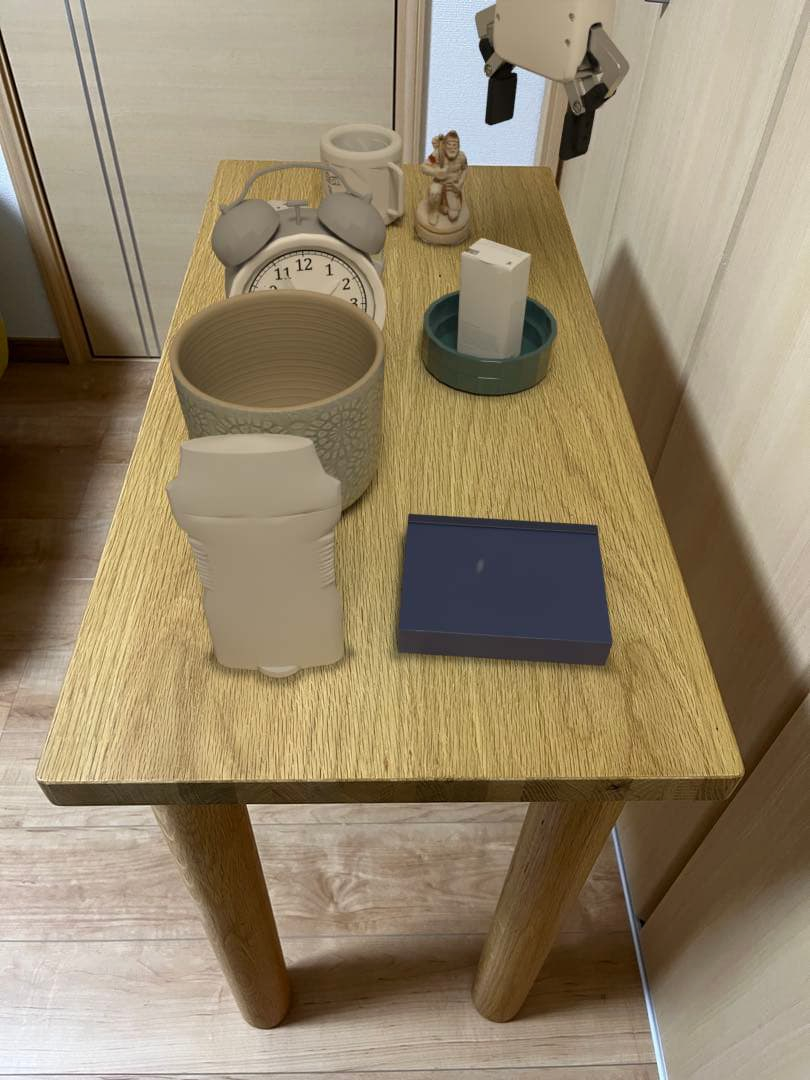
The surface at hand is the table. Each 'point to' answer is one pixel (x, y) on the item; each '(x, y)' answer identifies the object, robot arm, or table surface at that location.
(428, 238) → the figurine
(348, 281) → the alarm clock
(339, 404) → the planter
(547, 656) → the book
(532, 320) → the bowl
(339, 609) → the deodorant stick
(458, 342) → the cosmetic box
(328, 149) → the mug
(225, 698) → the table surface
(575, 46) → the robot arm
